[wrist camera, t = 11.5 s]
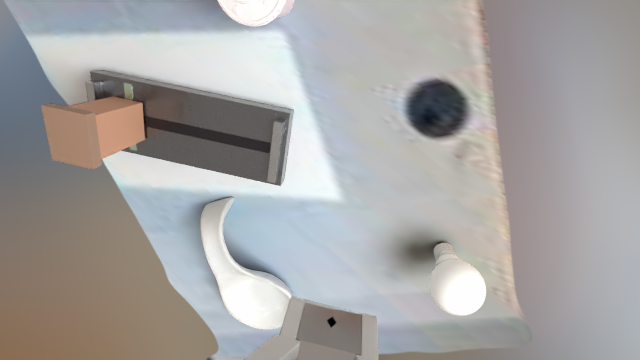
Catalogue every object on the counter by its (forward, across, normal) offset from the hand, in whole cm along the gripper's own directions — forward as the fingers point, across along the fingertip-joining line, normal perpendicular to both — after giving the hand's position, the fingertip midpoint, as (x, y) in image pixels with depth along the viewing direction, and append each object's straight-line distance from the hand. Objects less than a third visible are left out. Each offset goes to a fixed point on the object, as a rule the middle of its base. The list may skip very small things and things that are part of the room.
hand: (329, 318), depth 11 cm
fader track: (+31, +21, +6) cm, 38 cm away
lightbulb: (+31, -16, +16) cm, 38 cm away
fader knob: (+29, +29, +5) cm, 41 cm away
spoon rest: (+32, +12, +26) cm, 43 cm away
